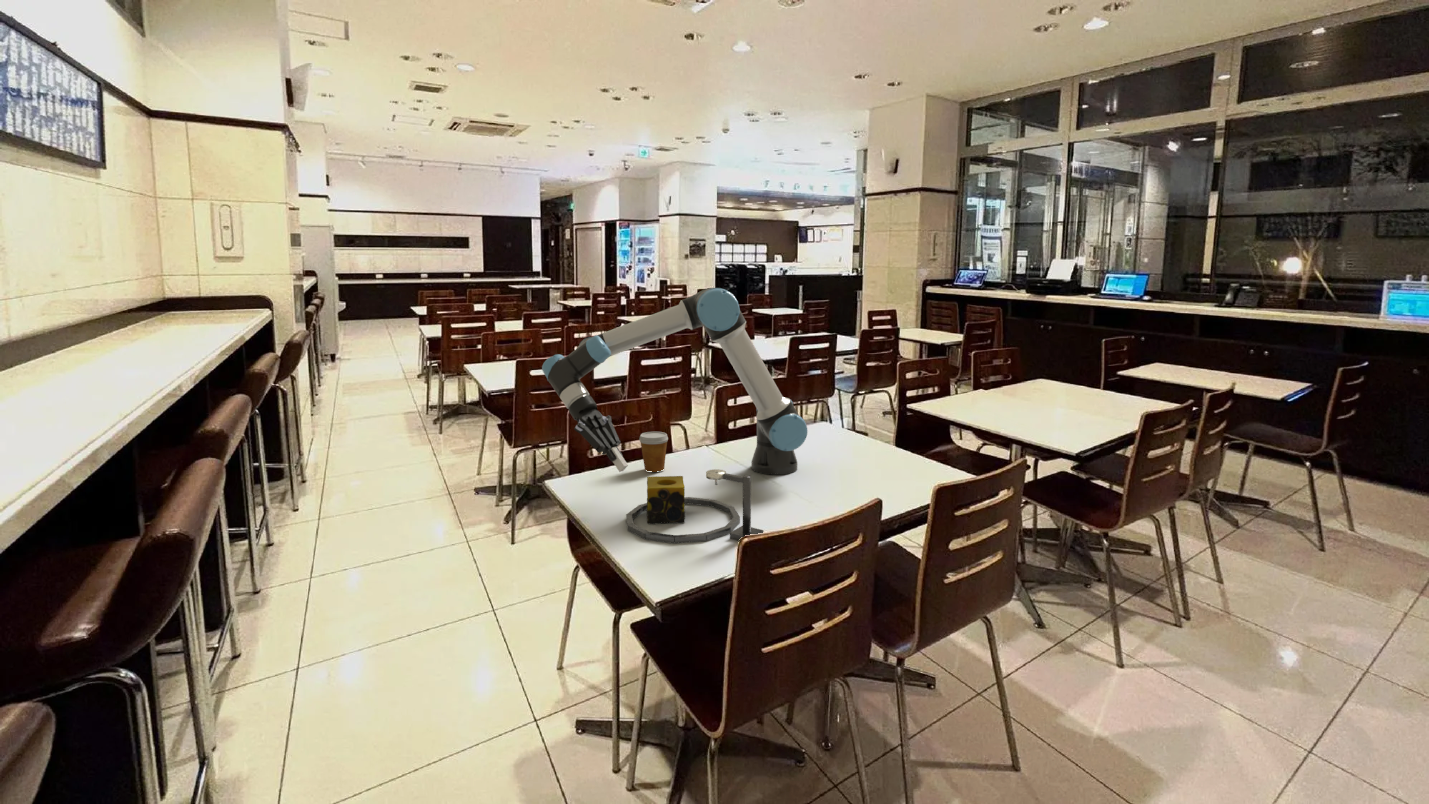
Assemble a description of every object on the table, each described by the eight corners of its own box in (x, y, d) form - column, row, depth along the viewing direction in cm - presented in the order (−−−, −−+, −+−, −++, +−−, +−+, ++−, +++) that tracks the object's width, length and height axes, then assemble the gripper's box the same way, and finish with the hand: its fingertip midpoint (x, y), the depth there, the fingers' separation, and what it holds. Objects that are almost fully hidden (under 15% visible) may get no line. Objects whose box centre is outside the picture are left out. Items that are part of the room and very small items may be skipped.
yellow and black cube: (647, 511, 188) (646, 476, 186) (684, 510, 189) (683, 475, 187) (646, 525, 178) (645, 488, 176) (685, 523, 179) (684, 486, 177)
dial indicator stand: (763, 535, 170) (763, 475, 167) (750, 543, 165) (750, 481, 162) (715, 524, 178) (714, 466, 175) (701, 531, 173) (700, 472, 170)
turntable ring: (726, 499, 196) (726, 494, 196) (749, 537, 168) (749, 532, 168) (624, 506, 191) (624, 501, 191) (630, 547, 163) (630, 541, 163)
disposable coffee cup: (671, 466, 230) (670, 431, 228) (666, 474, 221) (665, 438, 218) (643, 465, 231) (642, 431, 229) (637, 474, 222) (636, 438, 219)
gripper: (589, 406, 203) (632, 470, 196) (555, 414, 192) (600, 482, 186) (601, 391, 199) (646, 455, 192) (568, 397, 188) (614, 466, 182)
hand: (623, 468), depth 189 cm, fingers closed
